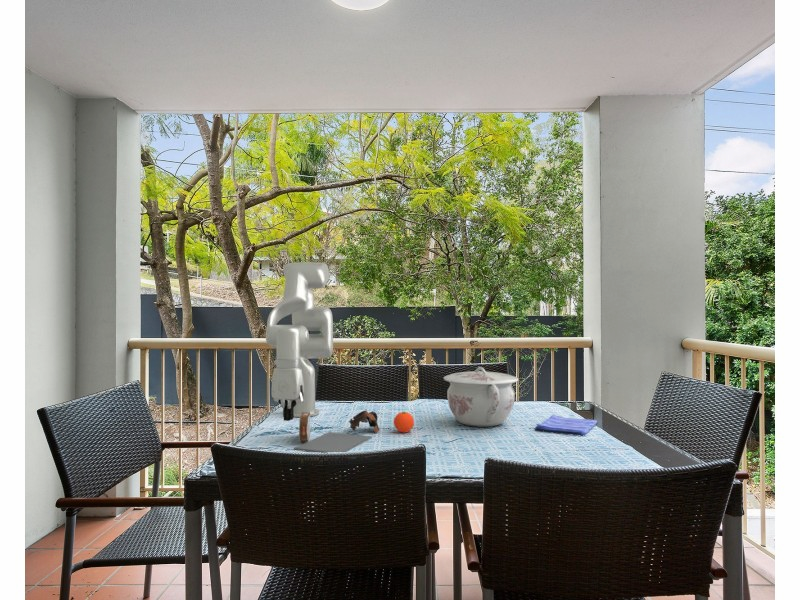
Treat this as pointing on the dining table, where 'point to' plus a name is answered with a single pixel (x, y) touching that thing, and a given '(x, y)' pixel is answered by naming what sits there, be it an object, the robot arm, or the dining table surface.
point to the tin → (304, 427)
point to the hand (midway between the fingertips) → (288, 419)
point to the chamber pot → (481, 397)
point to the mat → (333, 442)
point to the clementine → (403, 422)
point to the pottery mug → (365, 420)
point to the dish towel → (566, 425)
